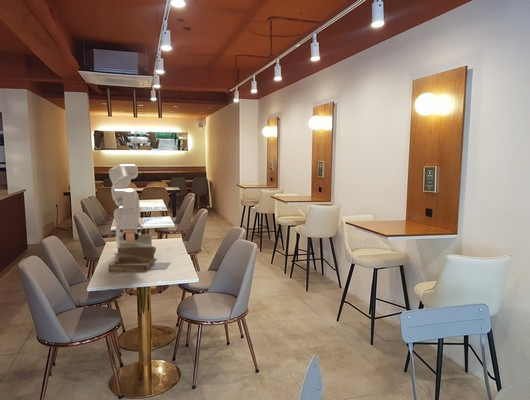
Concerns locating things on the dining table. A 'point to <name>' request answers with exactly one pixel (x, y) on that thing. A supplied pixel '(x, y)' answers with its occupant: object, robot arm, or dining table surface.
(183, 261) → the dining table surface
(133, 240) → the terracotta pot
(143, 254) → the box
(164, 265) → the slate mat
